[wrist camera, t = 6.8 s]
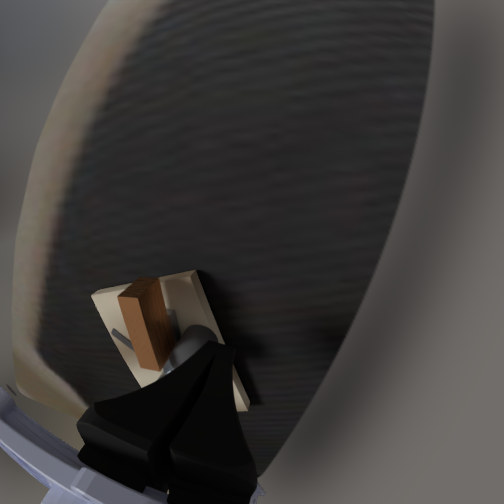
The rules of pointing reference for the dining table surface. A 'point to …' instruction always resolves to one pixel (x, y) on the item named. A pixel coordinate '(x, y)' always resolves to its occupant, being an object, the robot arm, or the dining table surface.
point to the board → (188, 313)
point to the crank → (149, 324)
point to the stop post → (190, 343)
